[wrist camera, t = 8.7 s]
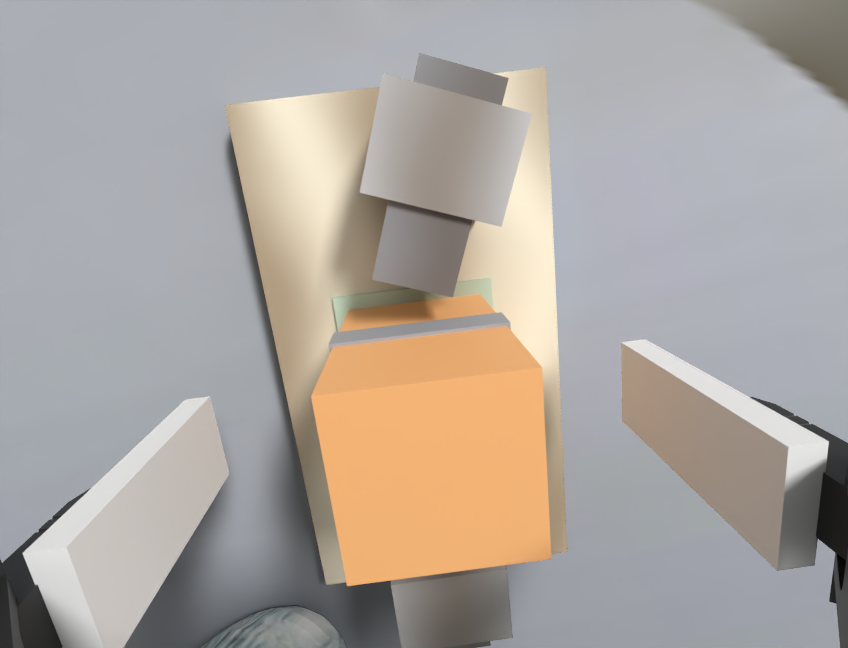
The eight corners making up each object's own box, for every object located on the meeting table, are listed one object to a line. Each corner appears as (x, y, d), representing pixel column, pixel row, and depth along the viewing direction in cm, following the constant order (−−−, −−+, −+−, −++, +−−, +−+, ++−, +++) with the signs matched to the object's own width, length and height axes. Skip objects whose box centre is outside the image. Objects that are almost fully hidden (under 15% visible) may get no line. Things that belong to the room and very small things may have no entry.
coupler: (345, 307, 18) (305, 392, 10) (482, 291, 18) (546, 363, 10) (365, 431, 19) (343, 590, 11) (492, 415, 19) (555, 561, 12)
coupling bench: (330, 560, 23) (308, 681, 17) (238, 112, 17) (161, 71, 12) (556, 529, 23) (608, 639, 17) (533, 78, 18) (598, 21, 12)
